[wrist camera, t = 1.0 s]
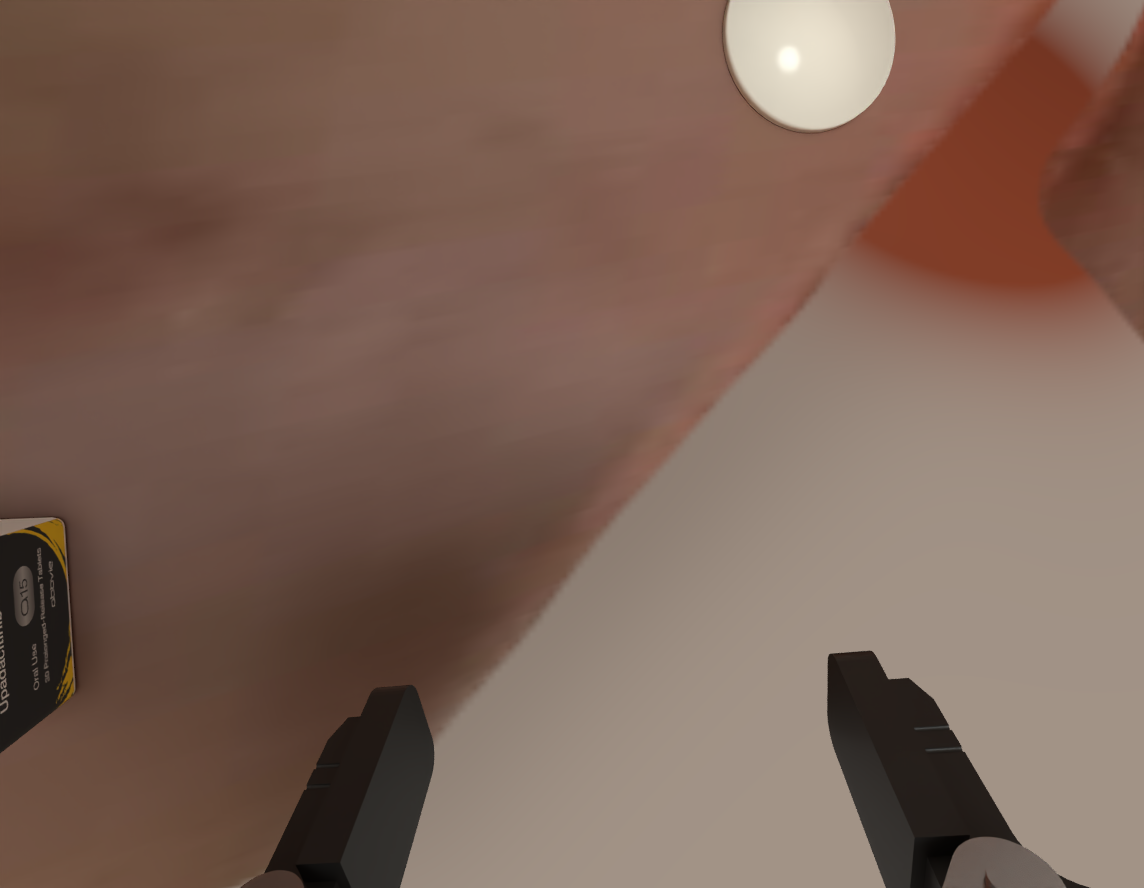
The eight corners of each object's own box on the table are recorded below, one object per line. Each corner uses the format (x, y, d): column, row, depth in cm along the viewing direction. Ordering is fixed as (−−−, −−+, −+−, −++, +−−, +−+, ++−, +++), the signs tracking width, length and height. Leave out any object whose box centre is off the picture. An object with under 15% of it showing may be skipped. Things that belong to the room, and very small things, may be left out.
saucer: (691, 69, 28) (696, 61, 28) (773, -92, 29) (780, -102, 28) (837, 166, 30) (845, 162, 29) (914, 14, 30) (923, 6, 30)
